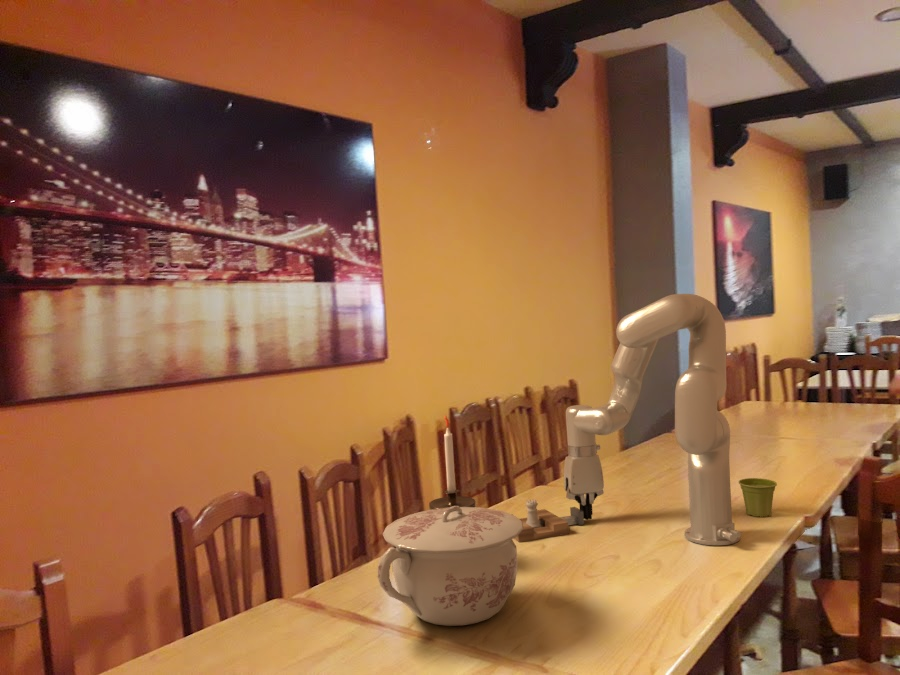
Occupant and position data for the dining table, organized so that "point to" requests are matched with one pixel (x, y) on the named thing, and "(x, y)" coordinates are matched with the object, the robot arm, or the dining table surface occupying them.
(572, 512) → the lock pin
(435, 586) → the chamber pot
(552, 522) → the mount
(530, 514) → the rook chess piece
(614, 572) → the dining table surface
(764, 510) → the plant pot
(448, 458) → the candlestick
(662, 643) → the dining table surface
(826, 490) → the dining table surface
